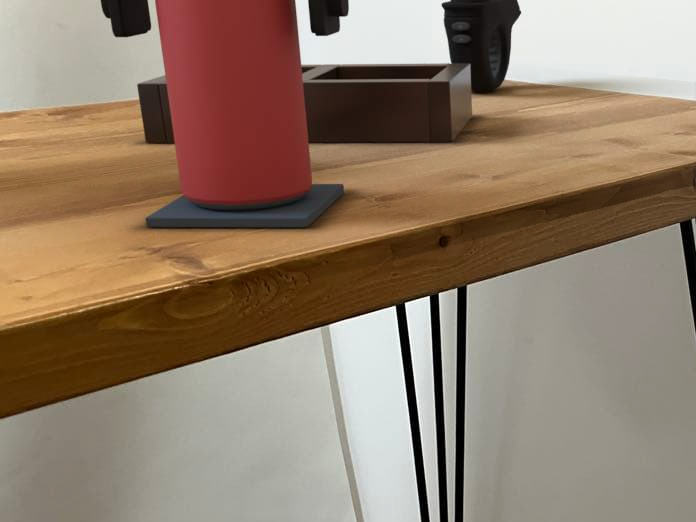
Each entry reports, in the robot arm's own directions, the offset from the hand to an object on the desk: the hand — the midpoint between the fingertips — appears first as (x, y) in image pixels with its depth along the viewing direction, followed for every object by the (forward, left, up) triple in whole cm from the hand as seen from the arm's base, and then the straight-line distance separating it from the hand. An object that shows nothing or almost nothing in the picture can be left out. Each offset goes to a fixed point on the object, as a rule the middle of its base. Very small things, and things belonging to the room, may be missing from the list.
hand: (229, 34), depth 54 cm
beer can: (0, 0, -8) cm, 8 cm away
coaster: (0, 0, -9) cm, 9 cm away
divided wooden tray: (-3, +26, -9) cm, 28 cm away
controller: (+7, +48, -9) cm, 49 cm away
